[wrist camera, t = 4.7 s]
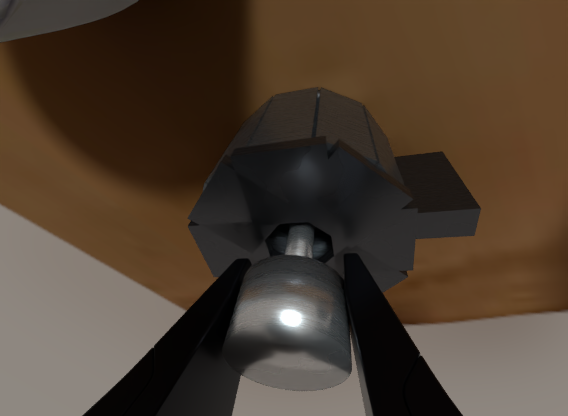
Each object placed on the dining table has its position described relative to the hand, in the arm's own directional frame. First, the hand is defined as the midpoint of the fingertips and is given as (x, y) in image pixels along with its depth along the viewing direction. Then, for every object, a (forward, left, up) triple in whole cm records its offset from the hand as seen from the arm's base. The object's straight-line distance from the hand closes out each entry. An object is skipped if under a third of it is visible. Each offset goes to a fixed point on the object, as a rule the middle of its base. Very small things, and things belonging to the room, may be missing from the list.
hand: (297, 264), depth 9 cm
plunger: (0, 0, -5) cm, 5 cm away
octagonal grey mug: (0, 0, -6) cm, 6 cm away
